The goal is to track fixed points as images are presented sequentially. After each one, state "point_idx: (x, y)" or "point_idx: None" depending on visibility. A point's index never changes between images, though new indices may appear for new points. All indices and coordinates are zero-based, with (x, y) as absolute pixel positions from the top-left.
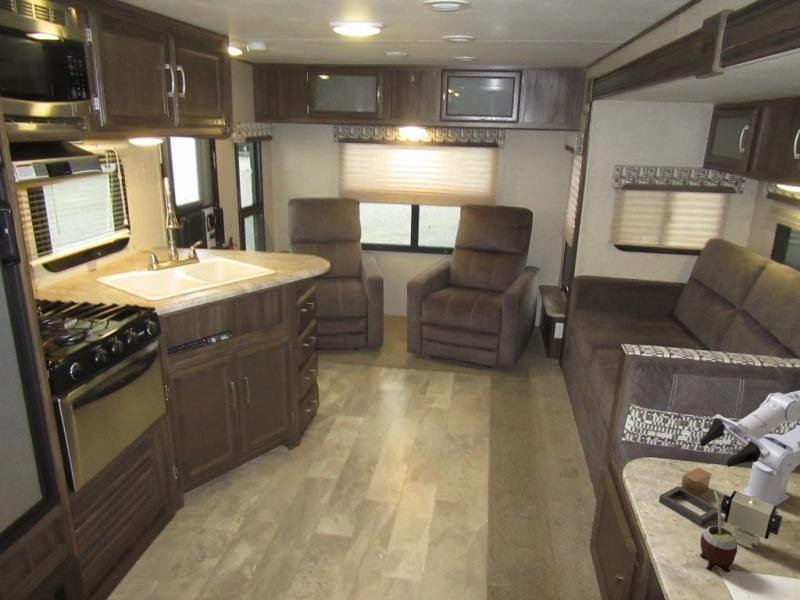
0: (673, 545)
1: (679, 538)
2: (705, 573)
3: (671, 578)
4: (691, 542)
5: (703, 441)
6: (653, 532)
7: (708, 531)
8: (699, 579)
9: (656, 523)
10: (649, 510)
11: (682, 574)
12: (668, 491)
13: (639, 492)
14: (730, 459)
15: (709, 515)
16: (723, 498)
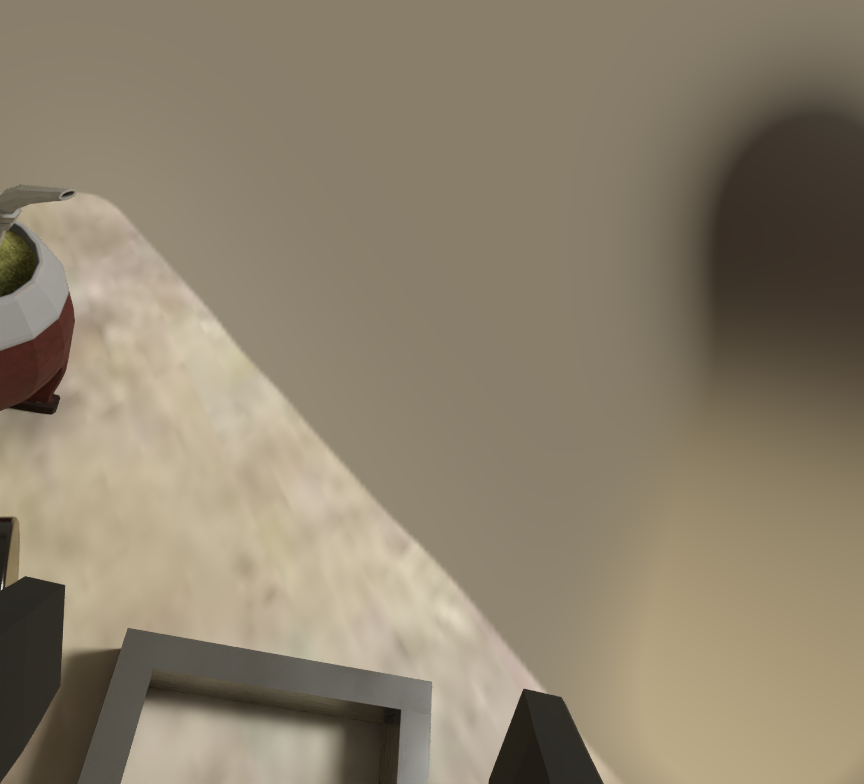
0: (192, 401)
1: (189, 464)
2: None
3: (126, 232)
4: (127, 473)
5: (520, 706)
6: (299, 429)
7: (36, 238)
8: None
9: (322, 499)
10: (400, 576)
11: (96, 266)
12: (425, 780)
13: None
14: (19, 599)
15: (99, 726)
16: (5, 530)
